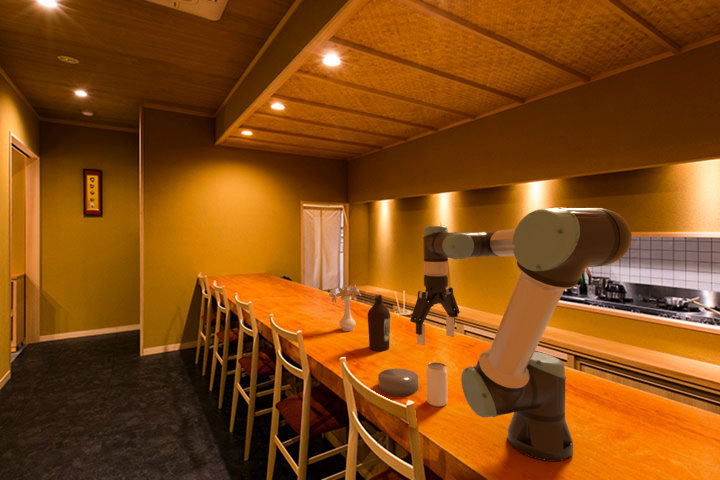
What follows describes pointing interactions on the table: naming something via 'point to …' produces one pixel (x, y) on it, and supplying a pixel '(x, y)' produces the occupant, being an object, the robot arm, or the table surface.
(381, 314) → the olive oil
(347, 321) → the flower vase
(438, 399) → the can
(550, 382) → the robot arm
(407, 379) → the stand
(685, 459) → the table surface
